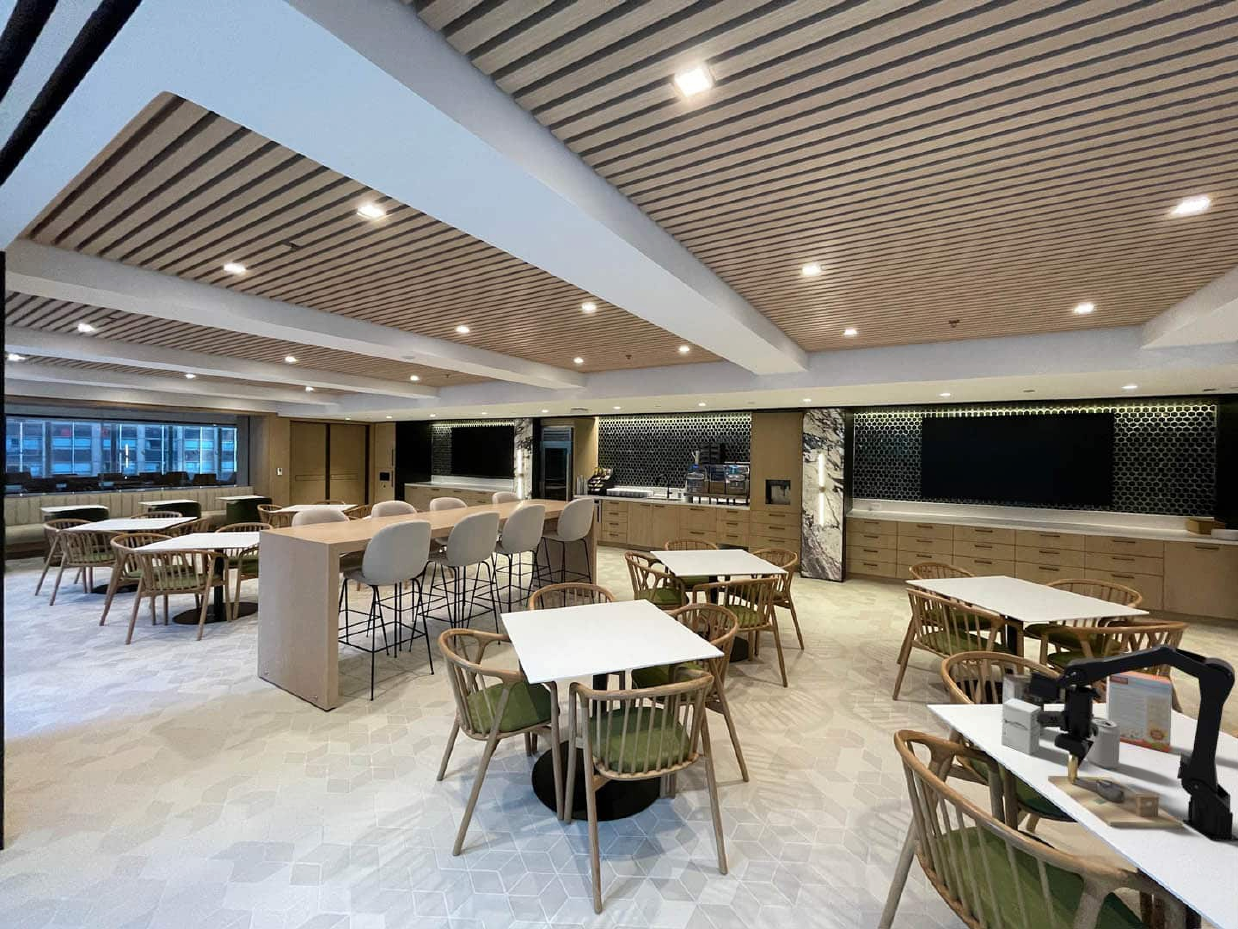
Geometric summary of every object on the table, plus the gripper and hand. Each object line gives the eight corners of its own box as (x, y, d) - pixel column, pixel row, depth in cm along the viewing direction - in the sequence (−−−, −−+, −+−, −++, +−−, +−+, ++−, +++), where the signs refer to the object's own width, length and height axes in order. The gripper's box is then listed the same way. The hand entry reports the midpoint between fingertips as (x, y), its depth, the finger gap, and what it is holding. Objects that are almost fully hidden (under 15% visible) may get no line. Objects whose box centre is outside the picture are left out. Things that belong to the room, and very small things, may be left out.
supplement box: (1000, 744, 162) (1002, 702, 162) (1011, 737, 166) (1012, 696, 166) (1029, 756, 156) (1031, 712, 156) (1040, 748, 160) (1041, 706, 160)
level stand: (1182, 828, 126) (1183, 802, 126) (1110, 826, 126) (1111, 801, 126) (1110, 781, 144) (1111, 759, 144) (1047, 780, 144) (1048, 758, 144)
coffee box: (1031, 725, 175) (1033, 675, 175) (1044, 735, 168) (1046, 683, 168) (1000, 722, 176) (1002, 672, 176) (1012, 732, 170) (1014, 681, 170)
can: (1125, 772, 149) (1127, 729, 149) (1094, 768, 151) (1095, 725, 150) (1106, 757, 156) (1108, 716, 156) (1077, 754, 158) (1078, 713, 158)
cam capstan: (1125, 797, 135) (1127, 769, 135) (1122, 805, 132) (1124, 777, 132) (1069, 777, 143) (1070, 751, 143) (1065, 784, 140) (1066, 757, 140)
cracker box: (1166, 745, 164) (1169, 677, 164) (1170, 754, 159) (1173, 683, 159) (1104, 730, 172) (1107, 665, 172) (1106, 738, 168) (1109, 671, 167)
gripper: (1048, 689, 155) (1046, 743, 156) (1031, 707, 143) (1029, 765, 144) (1100, 703, 147) (1097, 760, 147) (1086, 724, 135) (1083, 786, 135)
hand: (1075, 767), depth 144 cm, fingers closed
